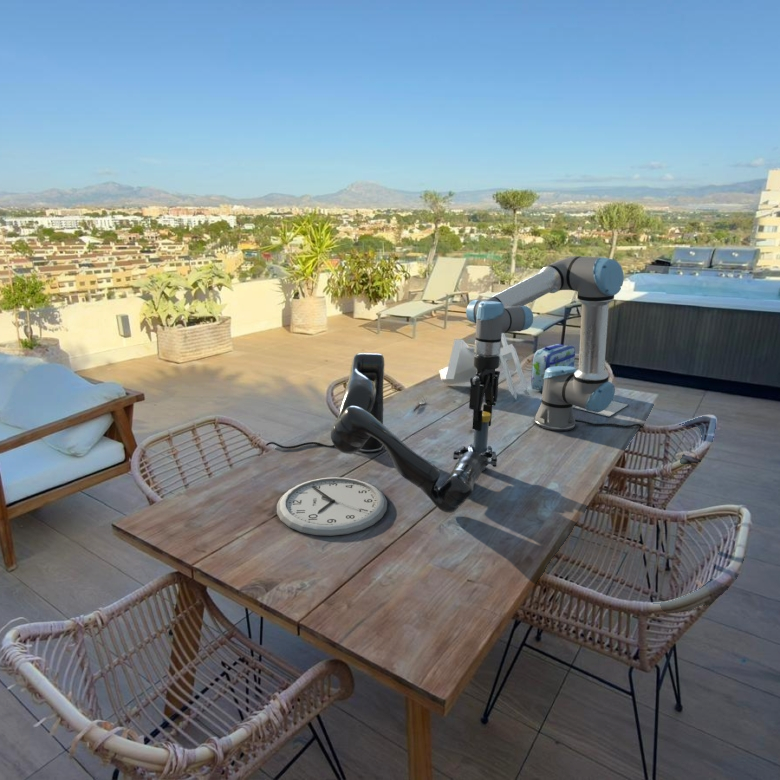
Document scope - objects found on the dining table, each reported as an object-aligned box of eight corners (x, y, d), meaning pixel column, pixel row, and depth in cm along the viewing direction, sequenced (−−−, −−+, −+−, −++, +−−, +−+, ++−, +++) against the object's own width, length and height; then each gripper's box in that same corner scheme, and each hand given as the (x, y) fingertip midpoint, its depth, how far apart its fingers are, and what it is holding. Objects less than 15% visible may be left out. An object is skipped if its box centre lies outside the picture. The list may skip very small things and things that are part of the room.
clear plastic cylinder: (482, 472, 164) (486, 418, 158) (469, 469, 166) (473, 416, 160) (487, 467, 167) (491, 414, 162) (474, 464, 169) (478, 412, 164)
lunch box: (547, 396, 238) (552, 351, 232) (526, 391, 246) (531, 347, 239) (574, 385, 256) (579, 343, 250) (554, 380, 263) (559, 340, 257)
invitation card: (608, 416, 214) (573, 407, 224) (608, 416, 214) (573, 408, 224) (628, 404, 229) (594, 396, 238) (628, 405, 229) (594, 397, 238)
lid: (493, 419, 162) (494, 413, 161) (484, 423, 158) (484, 417, 158) (480, 415, 165) (480, 409, 164) (470, 419, 162) (470, 413, 161)
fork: (410, 411, 216) (410, 407, 215) (421, 400, 230) (421, 396, 229) (416, 412, 215) (416, 408, 214) (427, 401, 229) (427, 396, 228)
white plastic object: (461, 429, 252) (437, 405, 227) (444, 352, 274) (420, 323, 250) (535, 404, 240) (518, 377, 215) (510, 326, 262) (492, 293, 237)
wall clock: (392, 527, 129) (268, 531, 127) (391, 533, 130) (269, 537, 127) (383, 473, 158) (282, 475, 155) (383, 478, 158) (282, 480, 156)
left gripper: (444, 475, 156) (459, 454, 171) (491, 485, 151) (503, 461, 166) (445, 452, 154) (461, 432, 169) (493, 461, 148) (505, 440, 164)
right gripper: (491, 347, 164) (486, 417, 171) (459, 357, 151) (455, 432, 158) (513, 351, 160) (506, 422, 167) (482, 361, 147) (476, 438, 154)
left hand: (481, 447), depth 167 cm, fingers closed on clear plastic cylinder, 4 cm apart
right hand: (481, 427), depth 162 cm, fingers closed on lid, 5 cm apart
